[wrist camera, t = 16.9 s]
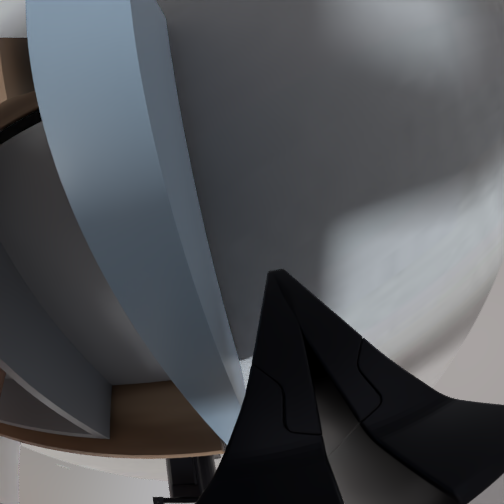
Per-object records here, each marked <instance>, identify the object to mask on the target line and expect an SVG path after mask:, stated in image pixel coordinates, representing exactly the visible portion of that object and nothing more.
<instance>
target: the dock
mask: <svg viewBox="0 0 504 504" xmlns="http://www.w3.org/2000/svg"><path fill="white" fill-rule="evenodd" d="M37 110H39V106H38V102H37V97H36V92H35V87H34V82H33V76H32V70H31V64H30V56H29V48H28V38H0V132H1V131H3V130H5V129H6V128H8V127H9V126H11V125H13V124H14V123H16V122H18V121H19V120H21V119H23V118H25V117H26V116H28V115H30V114H32V113H34V112H36V111H37ZM0 436H2V437H5V438H8V439H12V440H15V441H19V442H22V443H26V444H30V445H34V446H38V447H43V448H48V449H53V450H58V451H64V452H70V453H76V454H84V455H92V456H102V457H115V458H142V459H156V458H183V457H196V456H207V455H216V454H224V453H225V449H224V444H223V440H222V439H221V438H220V437H219V436H218V435H217V434H216V433H215V432H214V431H213V429H212V428H211V427H210V426H209V425H208V424H207V423H206V422H205V421H204V419H203V418H202V417H201V416H200V415H199V414H198V412H197V411H196V410H195V409H194V408H193V407H192V405H191V404H190V403H189V402H188V400H187V399H186V398H185V397H184V396H183V394H182V393H181V392H180V391H179V389H178V388H177V387H176V385H175V384H174V383H173V382H172V380H169V381H160V382H150V383H139V384H125V385H112V394H111V410H110V439H100V438H86V437H76V436H67V435H59V434H53V433H46V432H41V431H35V430H30V429H25V428H21V427H16V426H12V425H8V424H4V423H1V422H0Z"/></svg>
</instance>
